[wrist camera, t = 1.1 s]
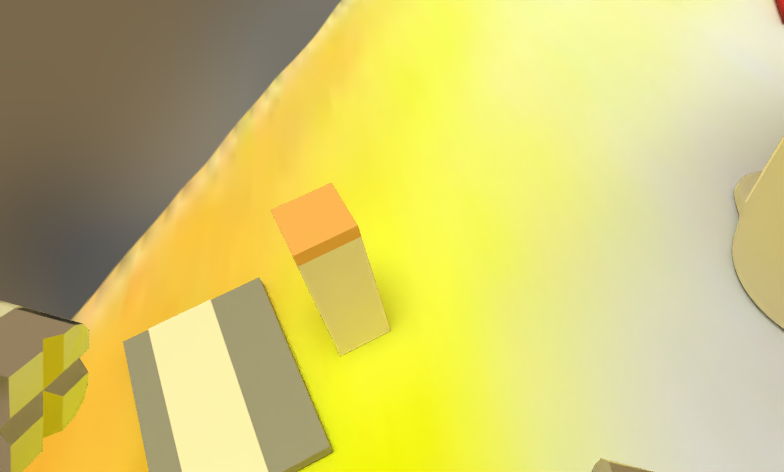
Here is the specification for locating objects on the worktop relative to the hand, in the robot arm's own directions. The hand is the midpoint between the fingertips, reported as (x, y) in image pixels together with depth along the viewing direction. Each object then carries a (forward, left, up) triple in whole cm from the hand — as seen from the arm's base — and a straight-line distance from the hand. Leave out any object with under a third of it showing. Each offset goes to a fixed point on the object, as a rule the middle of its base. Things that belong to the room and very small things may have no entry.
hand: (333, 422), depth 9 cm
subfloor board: (+8, -19, -28) cm, 35 cm away
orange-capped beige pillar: (-3, -20, -28) cm, 35 cm away
